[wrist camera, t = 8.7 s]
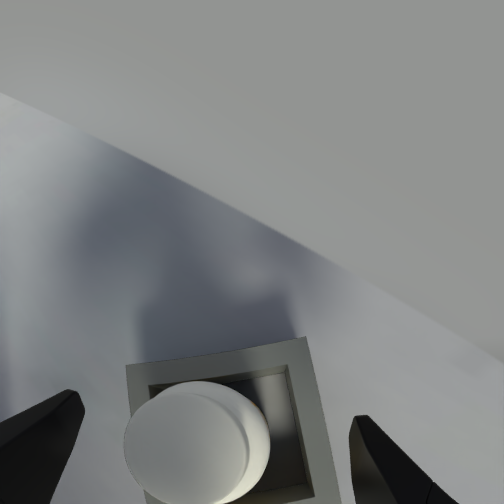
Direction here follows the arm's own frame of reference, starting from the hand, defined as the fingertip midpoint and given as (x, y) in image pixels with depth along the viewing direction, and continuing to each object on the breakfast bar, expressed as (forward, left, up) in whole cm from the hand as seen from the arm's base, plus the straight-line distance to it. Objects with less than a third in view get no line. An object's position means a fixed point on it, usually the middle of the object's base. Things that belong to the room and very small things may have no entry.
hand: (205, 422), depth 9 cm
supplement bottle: (-1, -1, -10) cm, 10 cm away
